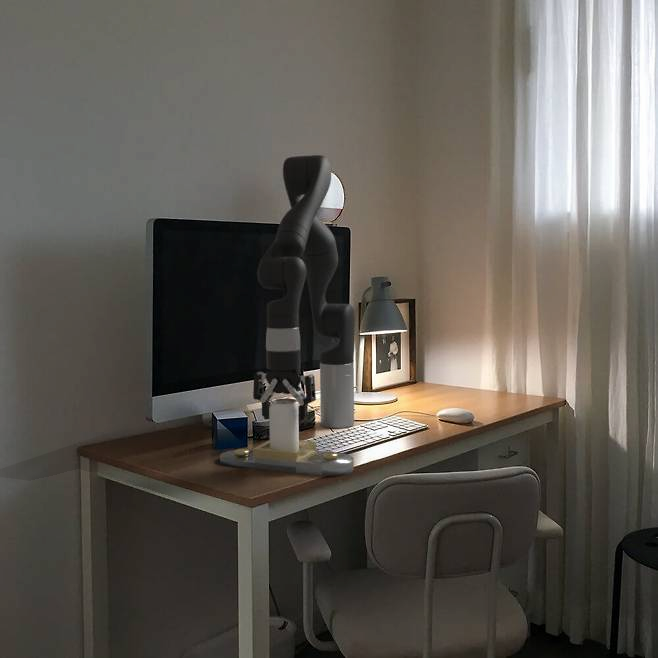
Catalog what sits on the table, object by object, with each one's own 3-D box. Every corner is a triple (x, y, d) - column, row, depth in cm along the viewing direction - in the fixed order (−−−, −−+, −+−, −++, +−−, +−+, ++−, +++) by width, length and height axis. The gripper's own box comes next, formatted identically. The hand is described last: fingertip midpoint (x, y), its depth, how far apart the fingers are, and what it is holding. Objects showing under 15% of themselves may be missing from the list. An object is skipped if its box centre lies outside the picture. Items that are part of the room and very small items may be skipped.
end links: (211, 463, 174) (210, 444, 173) (234, 452, 184) (234, 434, 183) (343, 478, 162) (342, 457, 161) (360, 465, 171) (360, 445, 171)
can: (298, 449, 176) (297, 397, 175) (299, 456, 170) (298, 403, 168) (270, 450, 176) (268, 398, 174) (270, 457, 169) (268, 404, 168)
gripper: (319, 346, 171) (320, 419, 172) (262, 344, 176) (263, 414, 178) (305, 351, 164) (306, 426, 165) (246, 348, 169) (248, 421, 171)
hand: (284, 420), depth 172 cm, fingers open, 8 cm apart
